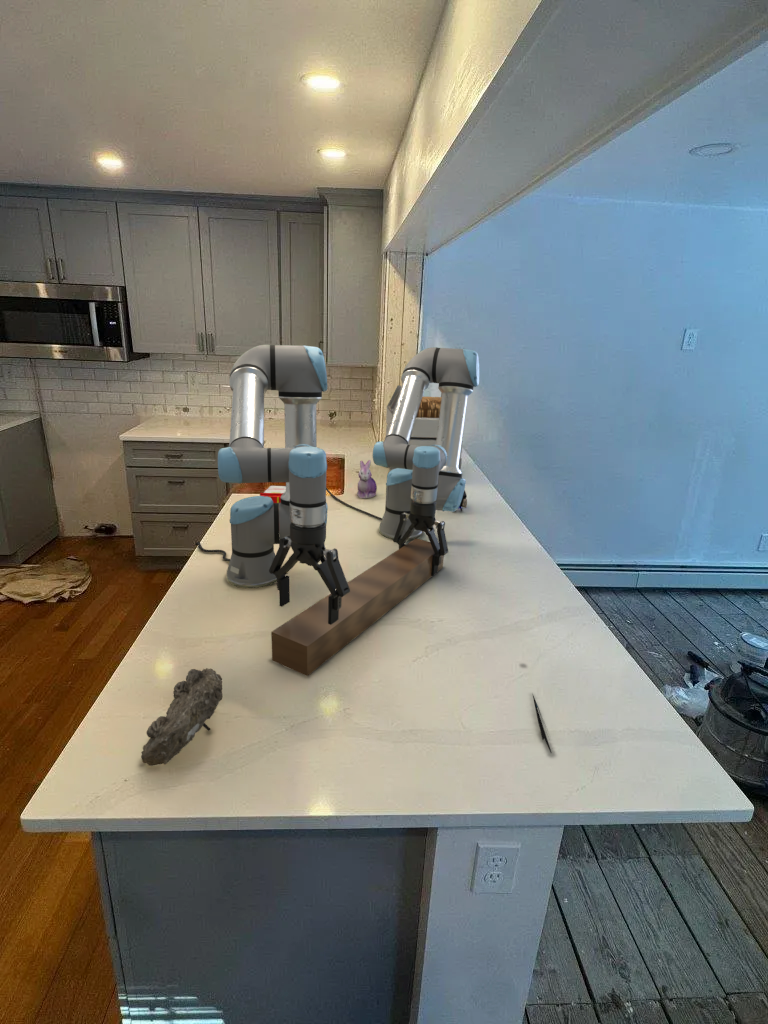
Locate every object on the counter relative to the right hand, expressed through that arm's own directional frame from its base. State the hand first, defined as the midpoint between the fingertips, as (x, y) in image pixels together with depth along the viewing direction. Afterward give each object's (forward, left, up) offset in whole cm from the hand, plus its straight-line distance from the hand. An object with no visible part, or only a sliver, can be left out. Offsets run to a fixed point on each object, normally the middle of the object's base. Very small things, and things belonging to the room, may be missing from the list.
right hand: (418, 569), depth 172 cm
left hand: (+17, -51, +10) cm, 54 cm away
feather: (+59, -24, -1) cm, 64 cm away
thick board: (+8, -25, -1) cm, 27 cm away
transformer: (-78, +76, -1) cm, 110 cm away
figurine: (-66, +33, -1) cm, 73 cm away
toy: (-63, -11, -1) cm, 64 cm away
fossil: (+23, -81, -1) cm, 84 cm away
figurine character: (-34, +54, -1) cm, 63 cm away
